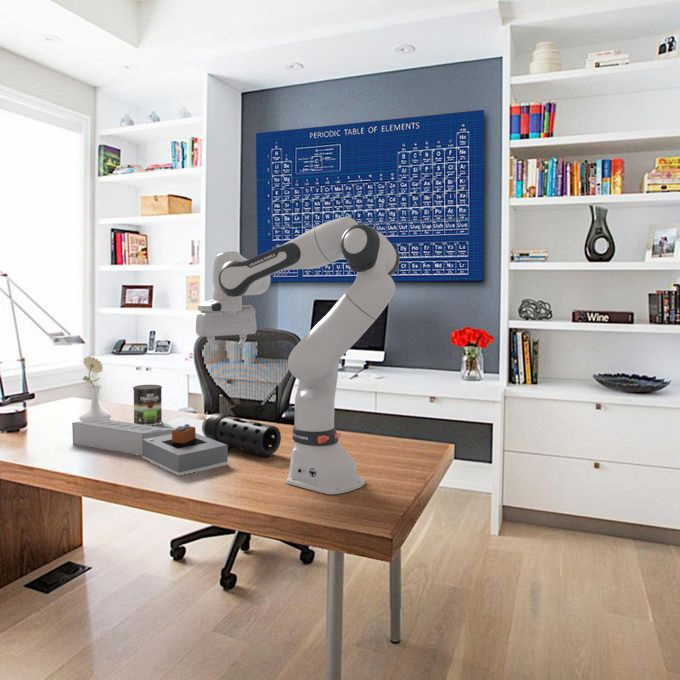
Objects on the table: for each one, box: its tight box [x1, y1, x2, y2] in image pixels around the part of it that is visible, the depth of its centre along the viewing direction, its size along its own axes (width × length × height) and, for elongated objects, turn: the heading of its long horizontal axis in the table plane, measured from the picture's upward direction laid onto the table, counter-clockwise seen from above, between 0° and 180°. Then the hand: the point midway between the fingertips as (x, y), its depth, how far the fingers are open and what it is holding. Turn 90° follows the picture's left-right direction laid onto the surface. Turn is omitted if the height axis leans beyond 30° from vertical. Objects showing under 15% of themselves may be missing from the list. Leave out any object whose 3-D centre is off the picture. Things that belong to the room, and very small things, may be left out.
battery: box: [172, 423, 196, 449], centre depth 176 cm, size 4×7×10 cm, turn 164°
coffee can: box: [132, 384, 163, 426], centre depth 223 cm, size 10×10×14 cm
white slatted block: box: [71, 419, 175, 456], centre depth 194 cm, size 30×14×8 cm, turn 66°
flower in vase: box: [78, 356, 112, 422], centre depth 224 cm, size 13×11×25 cm
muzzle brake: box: [201, 412, 282, 458], centre depth 190 cm, size 10×28×10 cm, turn 53°
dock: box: [141, 433, 229, 476], centre depth 176 cm, size 22×16×6 cm
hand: (227, 349), depth 182 cm, fingers open, 8 cm apart
